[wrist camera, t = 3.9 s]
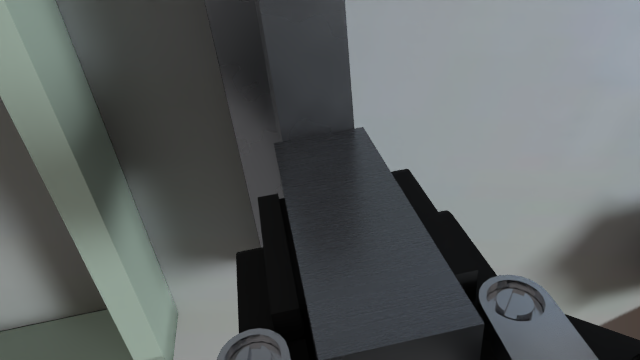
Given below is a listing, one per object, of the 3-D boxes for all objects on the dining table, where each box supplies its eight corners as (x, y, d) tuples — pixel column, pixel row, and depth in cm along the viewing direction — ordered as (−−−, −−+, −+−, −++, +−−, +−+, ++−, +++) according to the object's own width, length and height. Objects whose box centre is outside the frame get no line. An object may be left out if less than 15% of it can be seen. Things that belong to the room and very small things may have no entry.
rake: (266, 257, 22) (308, 604, 11) (192, -71, 15) (102, 9, 4) (342, 242, 22) (454, 564, 12) (307, -86, 15) (531, -54, 4)
